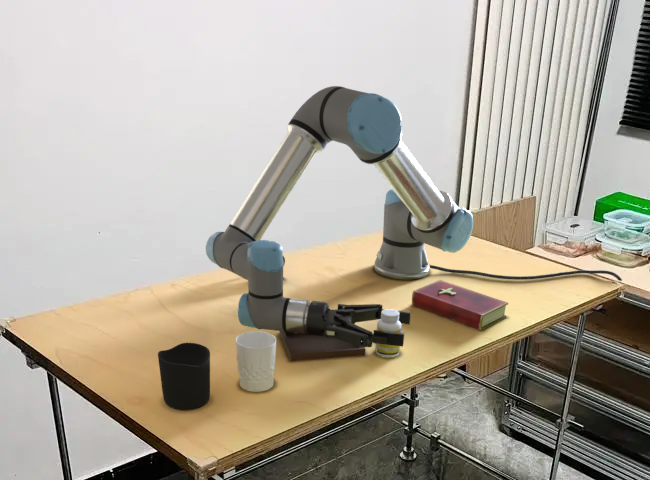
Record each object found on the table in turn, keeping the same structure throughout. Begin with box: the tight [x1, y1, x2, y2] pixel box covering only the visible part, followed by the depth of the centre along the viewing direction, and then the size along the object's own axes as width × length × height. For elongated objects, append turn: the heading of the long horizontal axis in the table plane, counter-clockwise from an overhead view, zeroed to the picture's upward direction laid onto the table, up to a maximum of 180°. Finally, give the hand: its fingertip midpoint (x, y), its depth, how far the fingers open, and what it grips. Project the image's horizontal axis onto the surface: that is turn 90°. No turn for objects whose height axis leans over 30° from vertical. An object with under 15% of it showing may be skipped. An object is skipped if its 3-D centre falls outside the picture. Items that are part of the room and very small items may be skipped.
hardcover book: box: [411, 279, 509, 331], centre depth 203 cm, size 12×21×4 cm, turn 52°
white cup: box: [235, 330, 277, 393], centre depth 160 cm, size 8×8×10 cm
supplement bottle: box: [374, 308, 402, 358], centre depth 177 cm, size 5×5×10 cm
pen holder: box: [157, 342, 211, 411], centre depth 153 cm, size 9×9×10 cm
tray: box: [278, 331, 366, 362], centre depth 180 cm, size 17×14×2 cm
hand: (407, 329), depth 176 cm, fingers open, 11 cm apart
